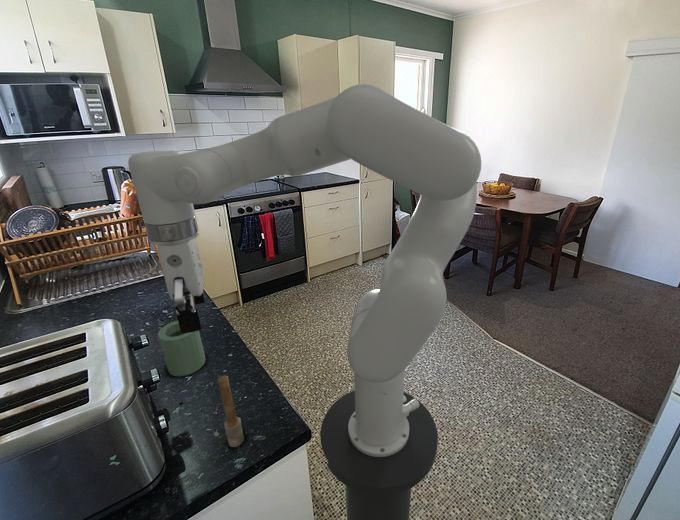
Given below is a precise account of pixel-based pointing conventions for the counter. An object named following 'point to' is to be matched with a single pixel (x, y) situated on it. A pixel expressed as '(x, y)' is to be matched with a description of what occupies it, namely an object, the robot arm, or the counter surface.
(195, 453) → the counter surface
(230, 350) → the counter surface
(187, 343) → the jar
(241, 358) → the counter surface
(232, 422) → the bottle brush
